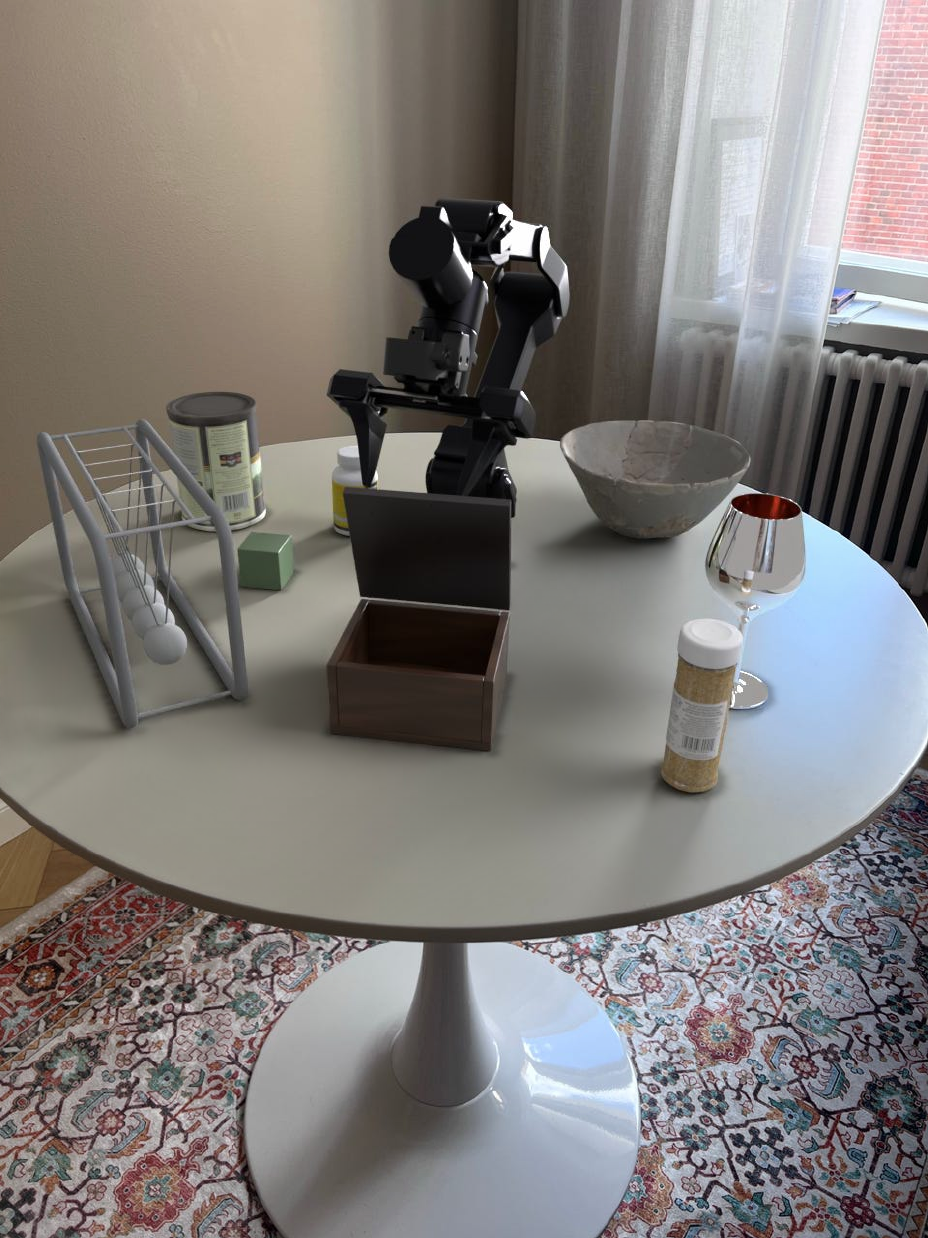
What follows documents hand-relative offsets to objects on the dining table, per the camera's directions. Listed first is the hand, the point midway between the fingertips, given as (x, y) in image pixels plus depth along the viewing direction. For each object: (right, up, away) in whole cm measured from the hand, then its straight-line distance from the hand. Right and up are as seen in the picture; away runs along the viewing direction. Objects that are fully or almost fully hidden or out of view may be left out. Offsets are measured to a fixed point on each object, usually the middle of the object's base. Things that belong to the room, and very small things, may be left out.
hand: (412, 493), depth 90 cm
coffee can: (-25, +1, +32) cm, 40 cm away
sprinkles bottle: (+23, -24, -11) cm, 35 cm away
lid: (+2, -6, -7) cm, 9 cm away
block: (-17, -7, +17) cm, 25 cm away
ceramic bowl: (+27, 0, +32) cm, 42 cm away
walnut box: (+1, -19, -3) cm, 19 cm away
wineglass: (+29, -18, 0) cm, 34 cm away
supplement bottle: (-8, -1, +29) cm, 30 cm away
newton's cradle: (-25, -14, +5) cm, 30 cm away
